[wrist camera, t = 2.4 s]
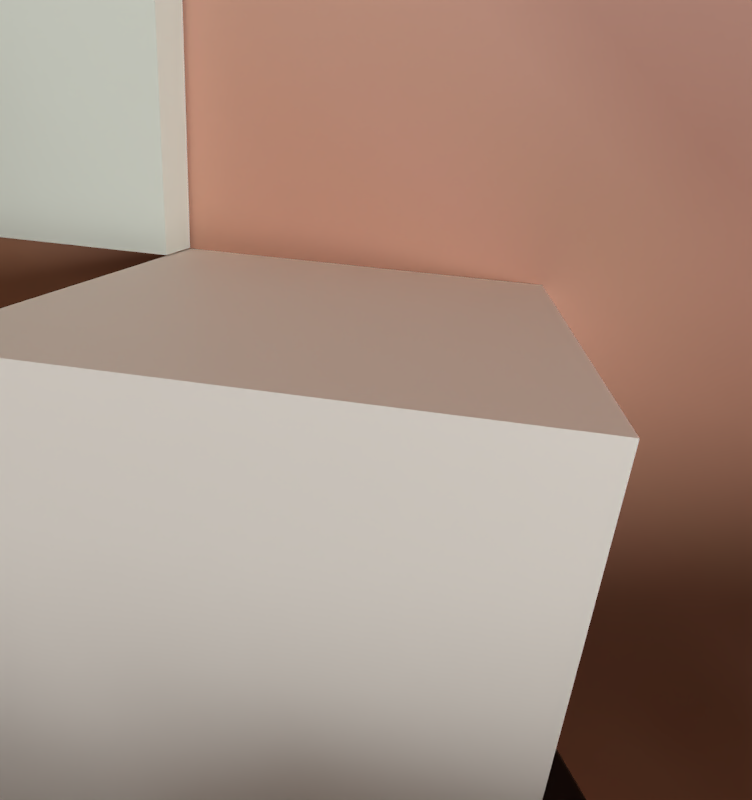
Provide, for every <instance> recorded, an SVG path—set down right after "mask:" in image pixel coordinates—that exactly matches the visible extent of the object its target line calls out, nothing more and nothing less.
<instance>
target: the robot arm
mask: <svg viewBox="0 0 752 800" xmlns="http://www.w3.org/2000/svg"><path fill="white" fill-rule="evenodd" d="M542 800H586V799H585V797H584V795H583V793H582V792H581V790H580V788H579V787H578V785H577V783H576V781H575V780H574V778H573V776H572V775H571V773H570V771H569V770H568V768H567V766H566V764H565V763H564V761H563V759H562V758H561V756H560V754H559V753H558V751H557V749H556V751H555V755H554V758H553V762H552V766H551V769H550V773H549V777H548V781H547V784H546V788H545V792H544V796H543V799H542Z"/></svg>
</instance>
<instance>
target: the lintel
mask: <svg viewBox="0 0 752 800" xmlns="http://www.w3.org/2000/svg"><path fill="white" fill-rule="evenodd" d="M639 439H640V438H639V437H638V435H637V434H636V432H635V430H634V429H633V427H632V426H631V424H630V423H629V421H628V419H627V418H626V416H625V415H624V413H623V412H622V410H621V408H620V407H619V405H618V404H617V402H616V400H615V399H614V397H613V396H612V394H611V393H610V391H609V389H608V388H607V386H606V385H605V383H604V382H603V380H602V378H601V377H600V375H599V374H598V372H597V371H596V369H595V367H594V366H593V364H592V363H591V361H590V360H589V358H588V356H587V355H586V353H585V352H584V350H583V349H582V347H581V345H580V344H579V342H578V341H577V339H576V338H575V336H574V334H573V333H572V331H571V330H570V328H569V327H568V325H567V323H566V322H565V320H564V319H563V317H562V316H561V314H560V312H559V311H558V309H557V308H556V306H555V305H554V303H553V301H552V300H551V298H550V297H549V295H548V294H547V292H546V290H545V289H544V287H543V286H542V285H537V284H527V283H518V282H508V281H499V280H489V279H479V278H470V277H460V276H451V275H441V274H431V273H422V272H412V271H403V270H393V269H384V268H374V267H364V266H355V265H345V264H336V263H326V262H316V261H307V260H297V259H288V258H278V257H268V256H259V255H249V254H240V253H230V252H220V251H211V250H201V249H192V248H189V249H186V250H183V251H180V252H177V253H173V254H170V255H167V256H164V257H161V258H158V259H155V260H151V261H148V262H145V263H142V264H139V265H136V266H132V267H129V268H126V269H123V270H120V271H117V272H114V273H110V274H107V275H104V276H101V277H98V278H95V279H91V280H88V281H85V282H82V283H79V284H76V285H72V286H69V287H66V288H63V289H60V290H57V291H54V292H50V293H47V294H44V295H41V296H38V297H35V298H31V299H28V300H25V301H22V302H19V303H16V304H13V305H9V306H6V307H3V308H0V800H542V799H543V796H544V792H545V788H546V784H547V781H548V777H549V773H550V769H551V766H552V762H553V758H554V755H555V751H556V747H557V743H558V740H559V736H560V732H561V729H562V725H563V721H564V717H565V714H566V710H567V706H568V703H569V699H570V695H571V691H572V688H573V684H574V680H575V677H576V673H577V669H578V665H579V662H580V658H581V654H582V651H583V647H584V643H585V639H586V636H587V632H588V628H589V625H590V621H591V617H592V613H593V610H594V606H595V602H596V599H597V595H598V591H599V587H600V584H601V580H602V576H603V573H604V569H605V565H606V561H607V558H608V554H609V550H610V547H611V543H612V539H613V535H614V532H615V528H616V524H617V521H618V517H619V513H620V509H621V506H622V502H623V498H624V495H625V491H626V487H627V483H628V480H629V476H630V472H631V469H632V465H633V461H634V457H635V454H636V450H637V446H638V443H639Z"/></svg>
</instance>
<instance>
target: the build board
mask: <svg viewBox="0 0 752 800" xmlns="http://www.w3.org/2000/svg"><path fill="white" fill-rule="evenodd" d="M0 237H4V238H13V239H22V240H31V241H41V242H50V243H59V244H68V245H77V246H86V247H96V248H105V249H114V250H123V251H132V252H141V253H151V254H160V255H169V254H172V253H175V252H178V251H181V250H185V249H188V248H190V229H189V197H188V165H187V133H186V101H185V69H184V37H183V5H182V0H0Z"/></svg>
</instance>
